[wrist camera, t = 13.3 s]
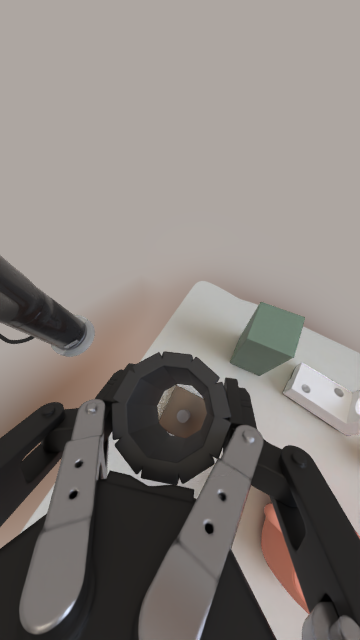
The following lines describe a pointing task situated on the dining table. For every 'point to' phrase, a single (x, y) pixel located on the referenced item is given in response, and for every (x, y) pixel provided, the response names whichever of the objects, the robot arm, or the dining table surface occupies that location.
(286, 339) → the rectangular block
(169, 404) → the peg stand
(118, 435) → the ring sleeve
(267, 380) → the dining table surface
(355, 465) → the dining table surface
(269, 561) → the teapot
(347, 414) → the bracket
